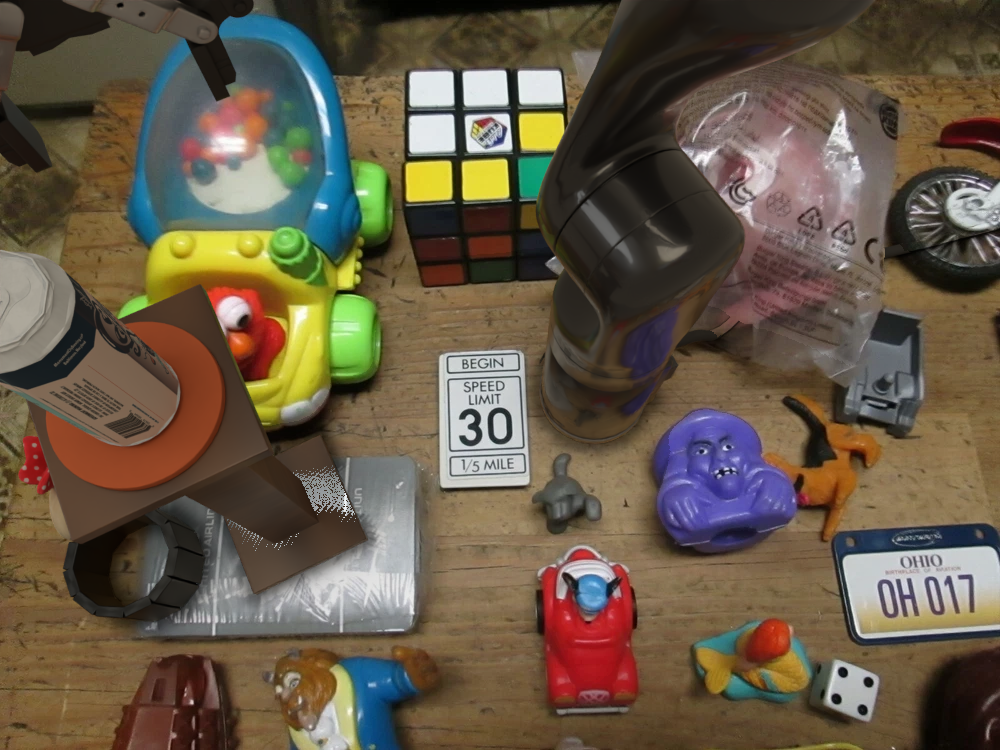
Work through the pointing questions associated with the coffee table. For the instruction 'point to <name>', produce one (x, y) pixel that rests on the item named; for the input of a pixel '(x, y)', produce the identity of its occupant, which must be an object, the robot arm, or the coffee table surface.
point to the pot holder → (174, 442)
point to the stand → (223, 473)
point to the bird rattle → (42, 481)
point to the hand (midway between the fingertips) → (130, 119)
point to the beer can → (79, 355)
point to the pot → (169, 594)
